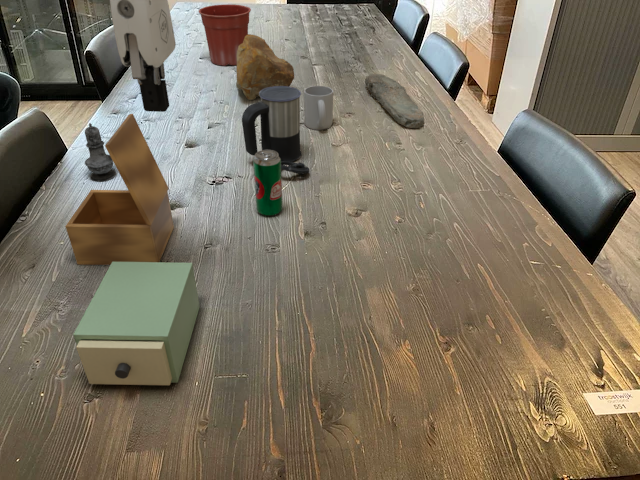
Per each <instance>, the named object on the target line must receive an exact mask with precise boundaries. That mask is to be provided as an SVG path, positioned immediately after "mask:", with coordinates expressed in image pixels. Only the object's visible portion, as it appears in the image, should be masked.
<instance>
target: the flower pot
mask: <svg viewBox="0 0 640 480" xmlns="http://www.w3.org/2000/svg"><path fill="white" fill-rule="evenodd" d="M251 12H252V8H251V7H249V6H247V5H242V4H232V3H231V4H230V3H228V4H214V5H207V6H204V7H201V8H199V9H198V14H199V15H200V18H201V23H202V25H203V28H204V33H205V38H206V42H207V48H208V54H209V57H210V62H211V64H214V65H217V66H222V67H223V66H224V67H225V66H228V65H230V66H237V50H238V46H239V45H240V44H242V43H243V41H244V38H245V36H246V35H247V34H249V24H250V13H251Z"/></svg>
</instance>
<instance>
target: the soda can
mask: <svg viewBox="0 0 640 480" xmlns="http://www.w3.org/2000/svg"><path fill="white" fill-rule="evenodd" d="M257 151H258V152H257V153H256V154H255V155H254V158H253V160H252V163H253V165H252V167H253V177H254V179H253V180H254V189H255V190H254V193H255V206H256V208H255V209H256V211H257V212H258V213H259V214H260V215H262V216H263V217H273V216H277V215H279V214H281V212H282V210H283V207H284V206H283V180H282V169H281V158H280V157H279V154H278V153H277V152H276V151H274V150H262V149H261V150H257Z"/></svg>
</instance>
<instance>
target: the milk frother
mask: <svg viewBox="0 0 640 480" xmlns="http://www.w3.org/2000/svg"><path fill="white" fill-rule="evenodd" d="M301 95H302V92H301V90H300V89H298V88H296V87H292V86H289V87H288V86H273V87H268V88H265V89H262V90H261V91H260V92H259V96H260V97H259V96H258V97H259V98H260V101H258V102H254V103H251V104H250V105H248V106H247V107H246V108H245V110H244V111H243V113H242V116H241V125H242V131H243V140H244V145H245V152H247V154H249V155H251V156H255V154H256V153H257V152H258V151H259V150H258V140H257V131H256V120H257V118H258V117H260V134H261V136H260V137H261V138H260V139H261V140H260V141H261V142H260V144H261V145H260V146H261V150H274V151H276V152H277V153H278V154H279V157H280V158H281V170H283V171H286V172H289V173H294V174H297V175H299V176H303V175H304V174H308V173H310V168H309V166H308V165H305V163H304V162H301V161H299V162H295V161H297V160H299V159H300V158H301V157H302V155H303V153H302V150H301V130H300V129H301V105H300V104H301V102H300V101H301Z"/></svg>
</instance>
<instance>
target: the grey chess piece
mask: <svg viewBox="0 0 640 480" xmlns="http://www.w3.org/2000/svg"><path fill="white" fill-rule="evenodd" d="M84 135H85V140H86V144H85V147H86V148H87V149H88V152H89V157H88V158H86V159H85V160H84V165H85V166H86V167H87V169H88V171H90V172H91V174H89V175H90V176H89V179H90V180H91V181H93V182H100V183H101V182H107V181H110V180H112V179H114V178H115V177H116V176H117V172H116V171H115V170H114V169H113V167H114V162H113V160H112V158H111V156H110V155H109V154H107V153H106V151H105V142H104V141H103V140H102V136H101V132H100V129H99V128H98V127H96V126H94V125H93V124H92V123H91V122H89V123H88V127H86V128H85V129H84Z"/></svg>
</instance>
